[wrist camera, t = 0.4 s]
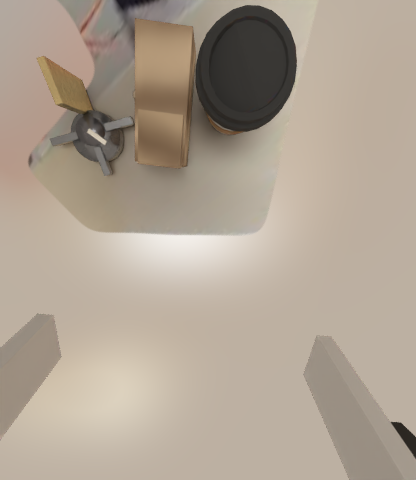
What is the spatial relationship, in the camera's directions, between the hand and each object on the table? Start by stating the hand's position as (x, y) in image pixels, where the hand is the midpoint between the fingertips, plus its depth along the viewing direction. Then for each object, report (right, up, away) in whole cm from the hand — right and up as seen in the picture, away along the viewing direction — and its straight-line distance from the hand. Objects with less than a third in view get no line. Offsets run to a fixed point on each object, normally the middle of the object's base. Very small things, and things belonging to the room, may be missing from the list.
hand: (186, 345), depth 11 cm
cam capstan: (-15, +21, +21) cm, 33 cm away
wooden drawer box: (-4, +24, +20) cm, 31 cm away
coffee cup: (+4, +24, +20) cm, 31 cm away
